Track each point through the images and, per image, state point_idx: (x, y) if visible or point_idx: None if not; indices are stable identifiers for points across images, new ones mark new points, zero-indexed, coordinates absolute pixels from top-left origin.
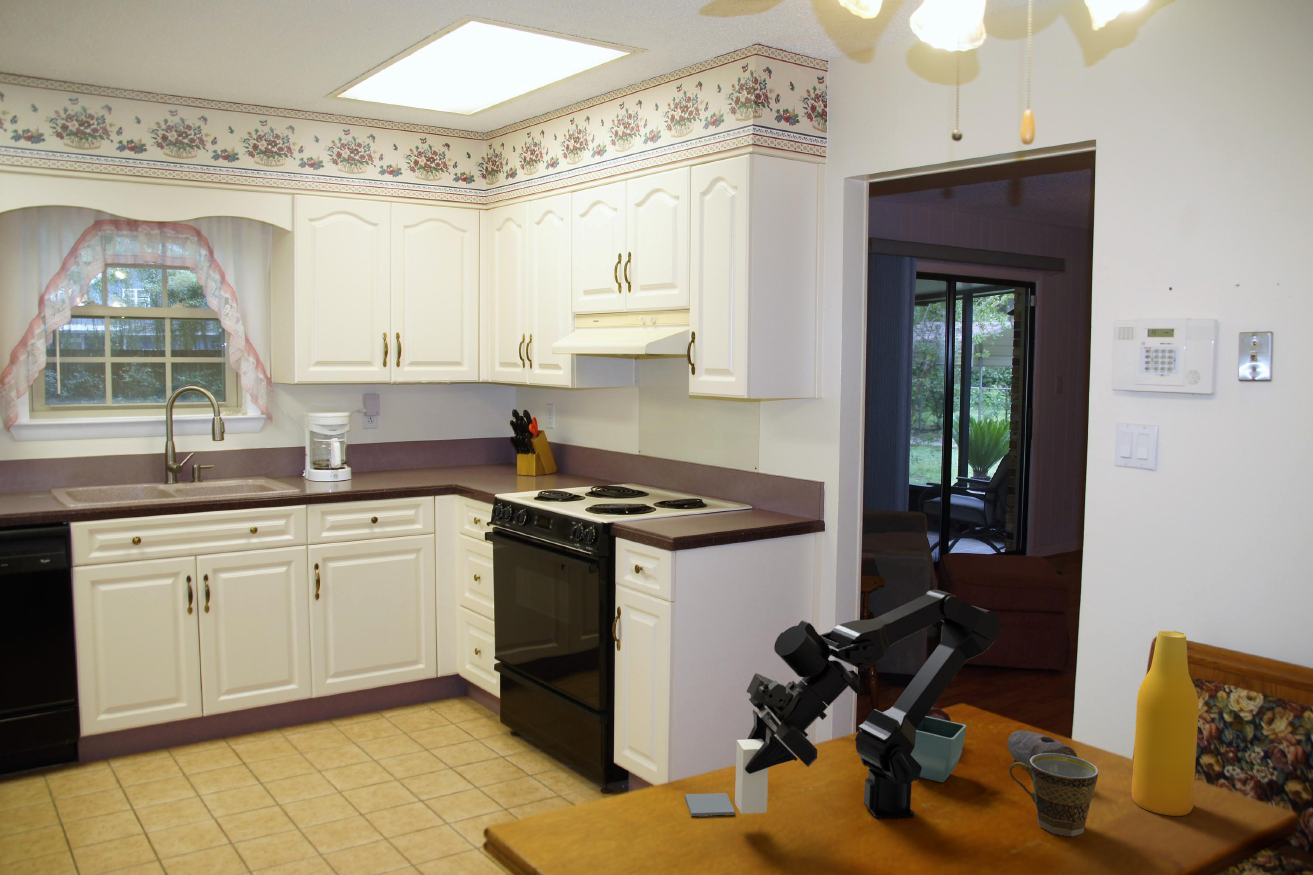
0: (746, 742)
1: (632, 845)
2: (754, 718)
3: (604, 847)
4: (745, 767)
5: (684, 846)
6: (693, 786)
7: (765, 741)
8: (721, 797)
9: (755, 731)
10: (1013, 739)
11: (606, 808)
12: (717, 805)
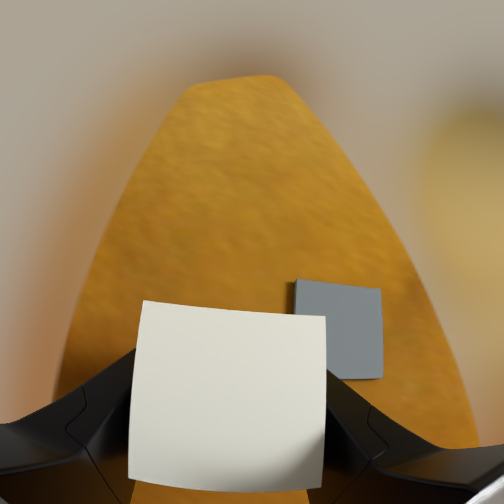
0: (269, 369)
1: (201, 163)
2: (475, 454)
3: (206, 135)
4: None
5: (171, 233)
6: (419, 319)
7: (72, 448)
8: (364, 363)
9: (364, 457)
10: None
11: (332, 164)
12: (327, 345)
